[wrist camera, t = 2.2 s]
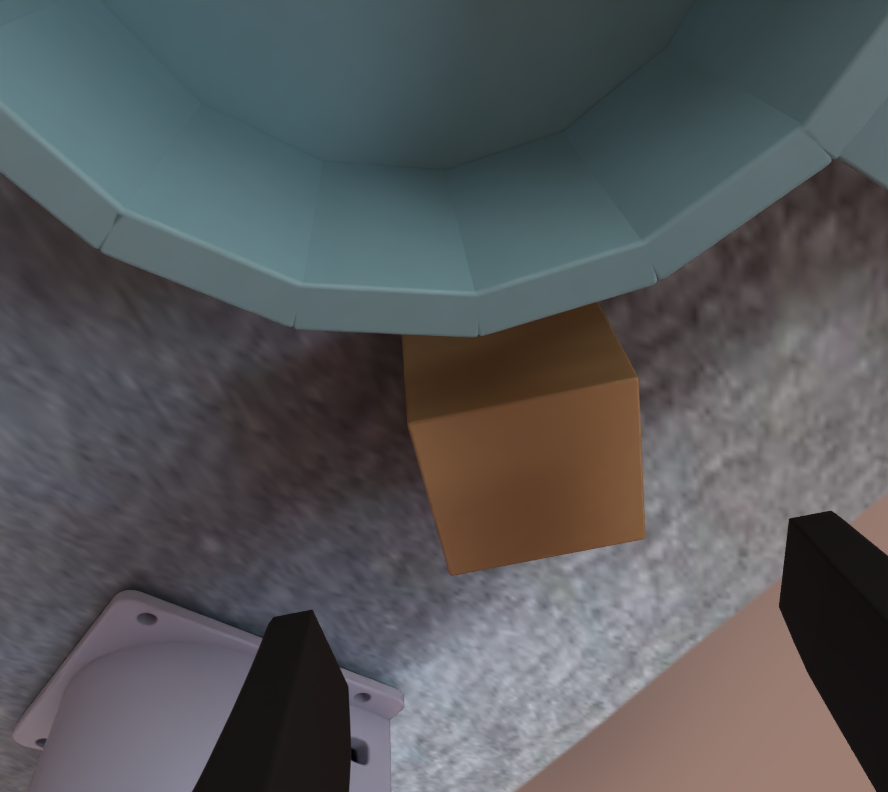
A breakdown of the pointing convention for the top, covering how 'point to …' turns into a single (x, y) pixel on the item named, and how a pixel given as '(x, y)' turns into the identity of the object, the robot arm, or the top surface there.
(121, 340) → the top surface
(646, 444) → the top surface
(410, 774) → the top surface
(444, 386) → the block
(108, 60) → the pot
